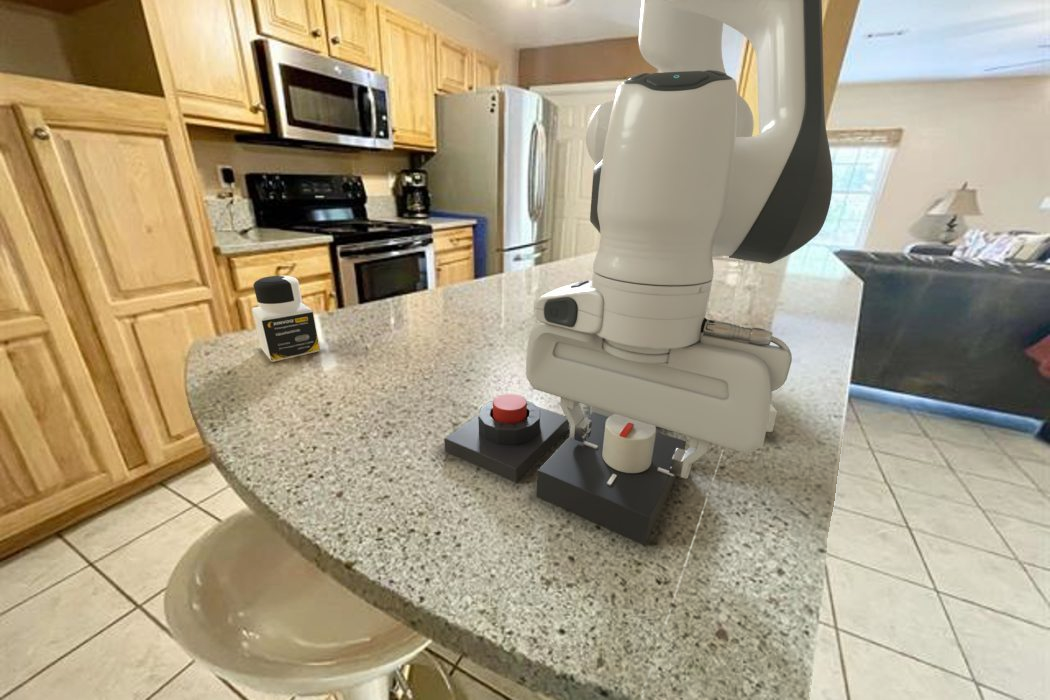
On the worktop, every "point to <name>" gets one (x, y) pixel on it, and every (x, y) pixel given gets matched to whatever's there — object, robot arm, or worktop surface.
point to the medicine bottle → (283, 319)
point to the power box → (507, 440)
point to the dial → (628, 444)
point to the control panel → (608, 483)
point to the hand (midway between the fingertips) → (626, 454)
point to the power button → (509, 408)
